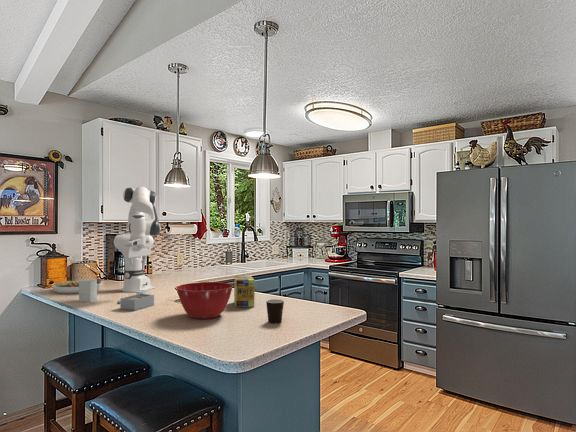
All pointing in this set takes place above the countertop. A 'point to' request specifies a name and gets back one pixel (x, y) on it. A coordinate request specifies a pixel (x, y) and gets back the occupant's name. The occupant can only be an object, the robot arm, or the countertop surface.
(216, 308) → the mixing bowl
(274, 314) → the coffee mug
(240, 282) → the protein box
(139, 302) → the tub
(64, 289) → the bowl
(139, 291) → the lid
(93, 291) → the supplement box
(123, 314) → the countertop surface
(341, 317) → the countertop surface
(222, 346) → the countertop surface
